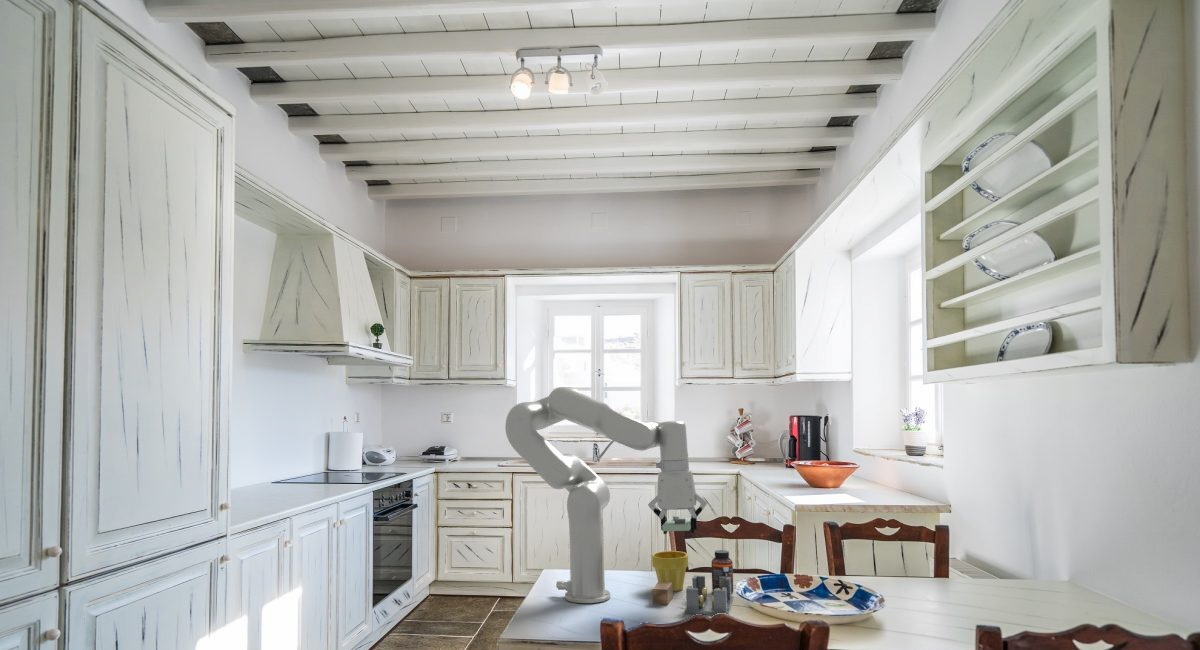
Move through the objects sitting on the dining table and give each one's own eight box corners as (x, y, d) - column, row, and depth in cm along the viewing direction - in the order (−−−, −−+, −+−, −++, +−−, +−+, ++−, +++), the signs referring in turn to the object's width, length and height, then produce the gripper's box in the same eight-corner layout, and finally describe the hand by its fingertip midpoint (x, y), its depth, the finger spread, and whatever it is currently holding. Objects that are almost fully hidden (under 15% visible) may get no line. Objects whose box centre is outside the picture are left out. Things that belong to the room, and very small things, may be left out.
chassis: (684, 613, 196) (683, 589, 196) (693, 597, 211) (692, 574, 212) (728, 615, 193) (727, 591, 194) (733, 599, 208) (732, 576, 209)
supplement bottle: (733, 595, 213) (731, 553, 214) (711, 594, 214) (710, 553, 215) (733, 589, 218) (732, 549, 219) (712, 589, 220) (711, 548, 221)
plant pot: (650, 592, 217) (649, 557, 218) (655, 583, 227) (655, 550, 228) (686, 594, 215) (685, 558, 215) (690, 585, 225) (689, 551, 225)
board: (662, 531, 203) (662, 521, 203) (669, 523, 214) (668, 514, 215) (688, 530, 201) (688, 520, 201) (694, 523, 213) (693, 513, 213)
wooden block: (653, 604, 205) (652, 588, 205) (658, 596, 213) (658, 581, 213) (667, 605, 204) (667, 589, 204) (672, 597, 212) (672, 582, 212)
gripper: (641, 469, 208) (645, 536, 206) (705, 466, 204) (710, 534, 202) (646, 466, 215) (650, 531, 213) (708, 464, 211) (713, 529, 209)
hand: (679, 532), depth 208 cm, fingers closed on board, 7 cm apart
